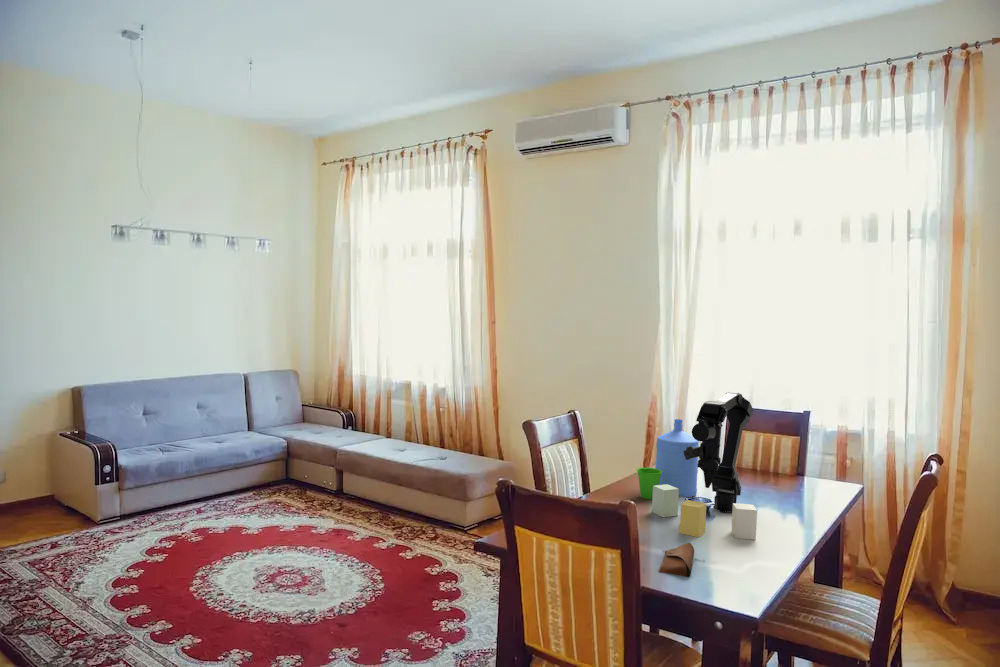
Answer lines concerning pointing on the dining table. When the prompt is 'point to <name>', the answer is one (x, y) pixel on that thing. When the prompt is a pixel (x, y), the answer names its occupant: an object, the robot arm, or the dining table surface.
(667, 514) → the sage block
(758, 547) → the dining table surface
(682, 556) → the sunglasses case
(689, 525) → the mustard block
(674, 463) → the water jug
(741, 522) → the cream block
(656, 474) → the cup
